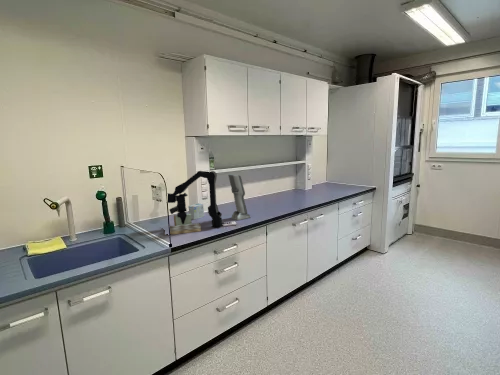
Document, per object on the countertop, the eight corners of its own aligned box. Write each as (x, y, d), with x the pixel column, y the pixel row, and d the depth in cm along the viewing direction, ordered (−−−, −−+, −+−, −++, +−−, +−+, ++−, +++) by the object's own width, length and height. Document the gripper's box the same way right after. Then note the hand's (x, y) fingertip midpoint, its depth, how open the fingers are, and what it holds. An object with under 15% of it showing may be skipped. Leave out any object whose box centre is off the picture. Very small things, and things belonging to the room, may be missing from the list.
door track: (200, 227, 192) (200, 222, 191) (201, 231, 183) (200, 226, 182) (165, 231, 186) (165, 226, 186) (164, 235, 178) (164, 230, 177)
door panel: (191, 225, 197) (190, 213, 195) (191, 226, 195) (190, 214, 193) (174, 227, 194) (173, 215, 192) (174, 228, 192) (173, 216, 191)
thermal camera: (229, 217, 214) (226, 174, 208) (242, 214, 221) (240, 172, 215) (237, 220, 204) (234, 175, 199) (251, 217, 211) (249, 173, 206)
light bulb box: (199, 215, 225) (198, 203, 223) (204, 216, 221) (203, 203, 219) (188, 218, 217) (187, 205, 215) (194, 219, 212) (193, 206, 211)
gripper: (170, 201, 199) (172, 221, 201) (168, 206, 181) (170, 228, 183) (185, 199, 201) (187, 219, 204) (185, 204, 183) (187, 226, 186)
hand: (183, 223), depth 194 cm, fingers closed on door panel, 2 cm apart
